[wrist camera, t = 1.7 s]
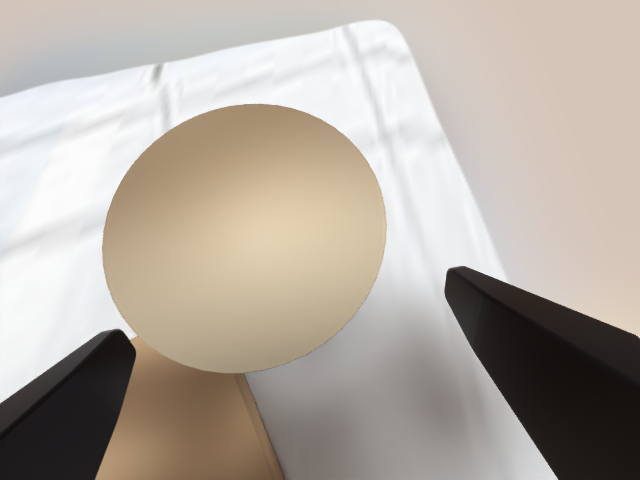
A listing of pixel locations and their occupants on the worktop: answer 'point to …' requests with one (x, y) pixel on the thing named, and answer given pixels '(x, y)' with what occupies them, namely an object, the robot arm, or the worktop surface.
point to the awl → (244, 238)
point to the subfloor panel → (187, 426)
